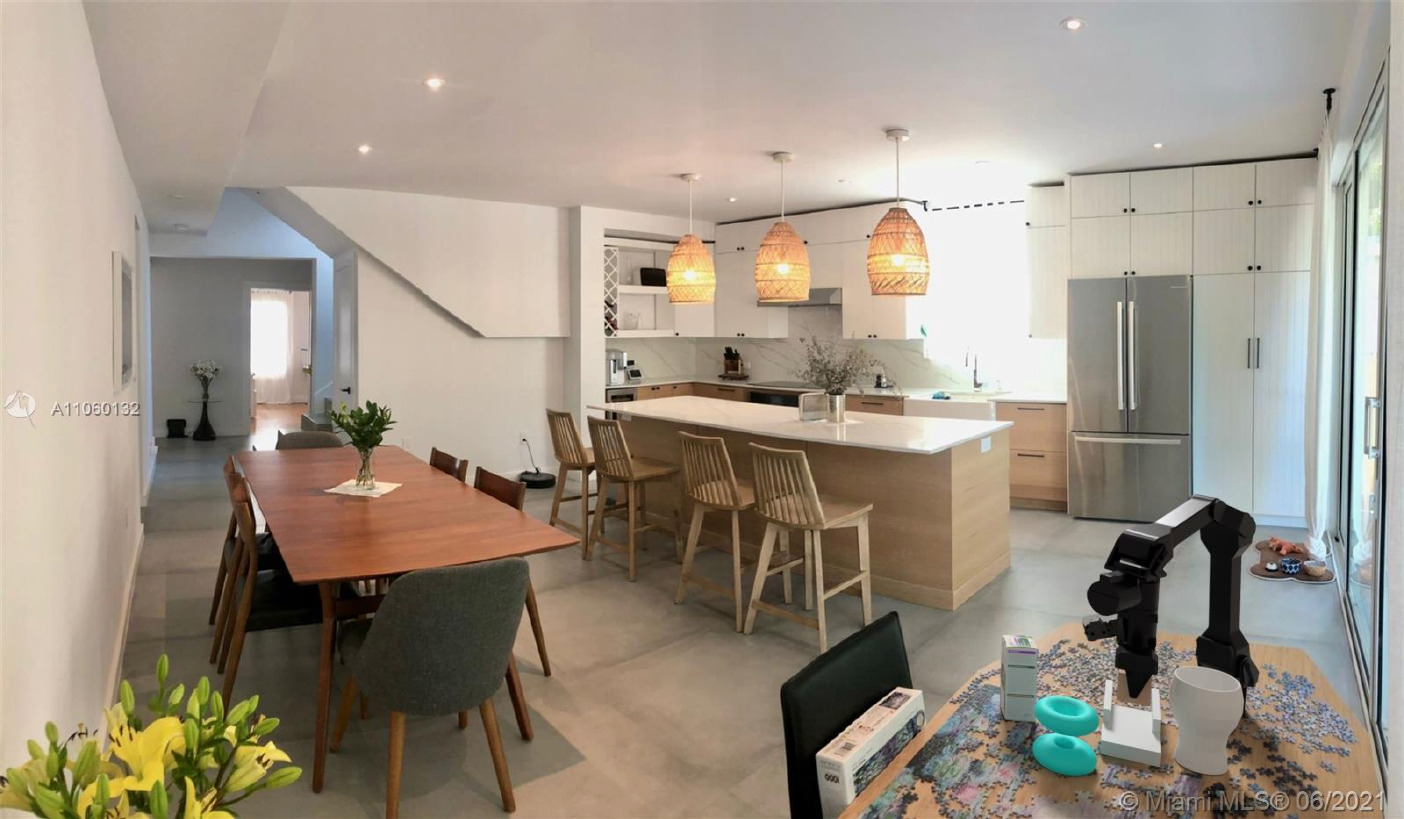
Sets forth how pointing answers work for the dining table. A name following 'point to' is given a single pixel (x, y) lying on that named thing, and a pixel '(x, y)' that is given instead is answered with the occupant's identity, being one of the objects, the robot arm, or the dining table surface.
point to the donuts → (1065, 735)
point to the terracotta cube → (1124, 693)
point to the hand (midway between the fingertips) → (1133, 691)
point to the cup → (1204, 716)
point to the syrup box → (1018, 678)
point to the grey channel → (1131, 730)
